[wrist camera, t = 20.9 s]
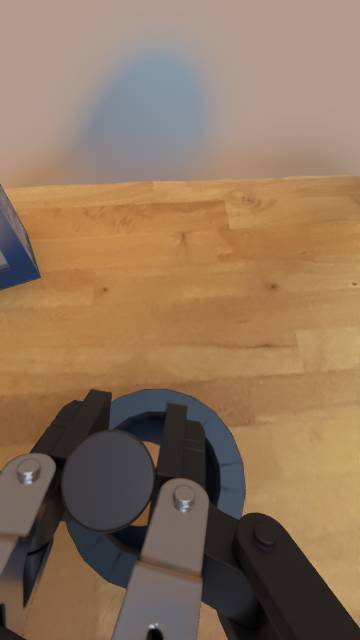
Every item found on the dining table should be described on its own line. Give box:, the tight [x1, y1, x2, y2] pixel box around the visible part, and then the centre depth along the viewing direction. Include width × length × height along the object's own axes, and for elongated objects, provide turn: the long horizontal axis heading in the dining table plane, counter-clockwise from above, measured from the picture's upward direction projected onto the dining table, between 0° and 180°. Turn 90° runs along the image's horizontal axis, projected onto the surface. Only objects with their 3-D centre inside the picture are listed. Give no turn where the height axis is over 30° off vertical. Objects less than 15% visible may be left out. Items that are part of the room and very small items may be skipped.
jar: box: [66, 389, 246, 589], centre depth 22 cm, size 10×10×9 cm
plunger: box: [60, 429, 160, 533], centre depth 16 cm, size 5×5×18 cm
